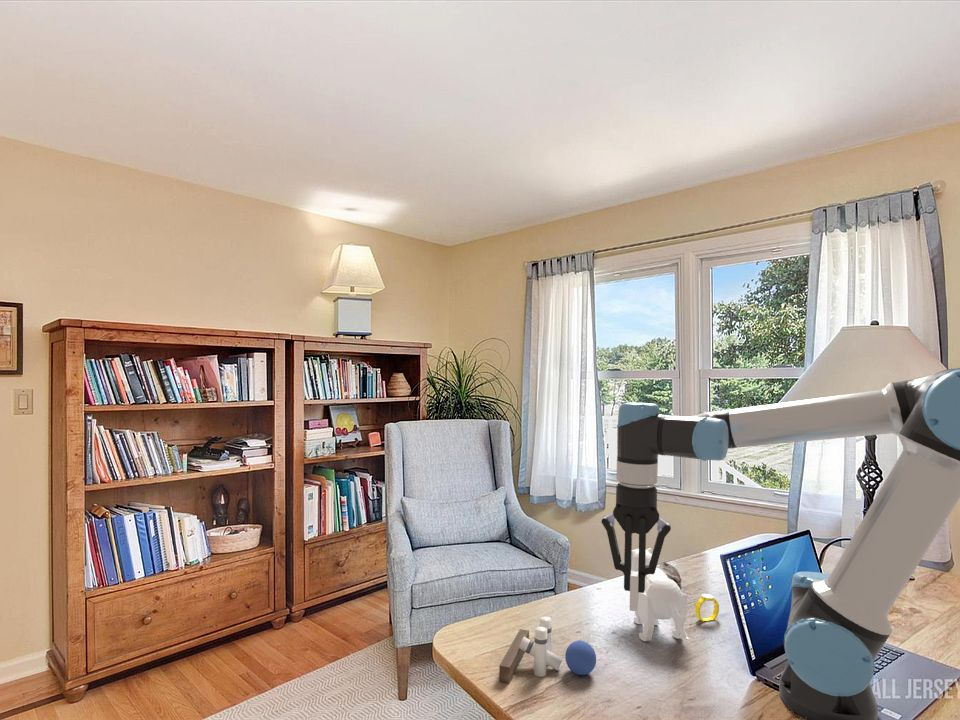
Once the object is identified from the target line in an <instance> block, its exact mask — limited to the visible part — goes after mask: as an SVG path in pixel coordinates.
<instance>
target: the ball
mask: <svg viewBox="0 0 960 720" xmlns="http://www.w3.org/2000/svg"><path fill="white" fill-rule="evenodd" d="M564 658H565V663H566V665H567V667H568V668H569V669H570V671H571V672H572V673H573V674H575V675H578V676H585V675H589V674H591V672H593V670H594V668H596V664H597V654H596V652H595V649H594V648H593V646H592V645H591V644H589V643H588V642H587V641H584V640H575V641H573V642H571V643H570V644H569V645H568V646H567V648H566V650H565V654H564ZM569 669H568V670H569Z"/></svg>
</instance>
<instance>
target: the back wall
mask: <svg viewBox="0 0 960 720" xmlns="http://www.w3.org/2000/svg"><path fill="white" fill-rule="evenodd" d="M523 637H526V638H528V639H529V640H530V630H528V629H522V628H520V629H519V631H518V632H517V634H516V636H515V637H514V639H513V641H512V643H511V644H510V646H509V648H508V650H507V651H506V653H505V655H504V657H503V659H502V660H501V662H500V664H499V672H498V674H499V676H498V677H499V678H498V680H499V681H498V682H500V683H505V684H510V683H511V681H512V679H513V677H514V675H515V673H516V671H517V670H518V668H519V665H520V663H521V661H522V660H523V657H524V655H525V653H526V652H524V651H523V650H521V649H519V646H520V644H521V641H522V639H523Z"/></svg>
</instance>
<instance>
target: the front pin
mask: <svg viewBox="0 0 960 720" xmlns="http://www.w3.org/2000/svg"><path fill="white" fill-rule="evenodd" d="M534 647H535V641H533V640H531V639H530V638H529V639H528V638H526V637H523V639H522V641H521V644H520V646H519V649H521V650H523V651H524V652H525V653H526V654H527V655H529V656H532V658H534ZM562 662H563V657H561V656H558V655H557V654H555V653H553V652H552V651H551V652H550V651H548V650H547V662H546V666H548V667H550V668H552V669H553V670H556V671H557V672H558V671H559V669H560V666H561V664H562Z"/></svg>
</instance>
